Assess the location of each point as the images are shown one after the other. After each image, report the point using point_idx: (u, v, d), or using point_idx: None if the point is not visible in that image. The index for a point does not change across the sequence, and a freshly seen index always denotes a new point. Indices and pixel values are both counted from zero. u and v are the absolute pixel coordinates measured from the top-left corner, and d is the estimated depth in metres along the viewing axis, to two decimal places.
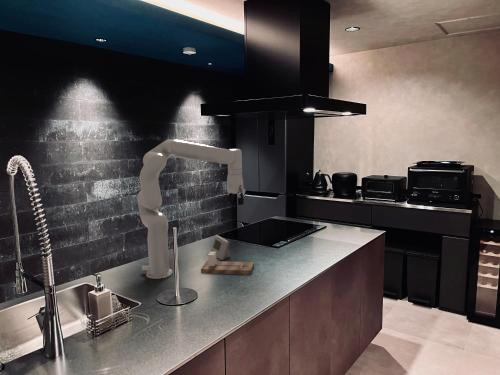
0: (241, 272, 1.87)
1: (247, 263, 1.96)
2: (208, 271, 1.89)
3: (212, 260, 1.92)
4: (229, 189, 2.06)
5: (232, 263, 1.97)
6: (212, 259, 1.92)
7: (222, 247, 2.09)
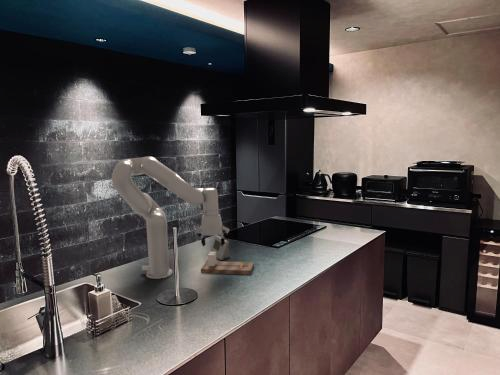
0: (241, 272, 1.87)
1: (247, 263, 1.96)
2: (208, 271, 1.89)
3: (212, 260, 1.92)
4: (207, 232, 1.90)
5: (232, 263, 1.97)
6: (212, 259, 1.92)
7: (222, 247, 2.09)
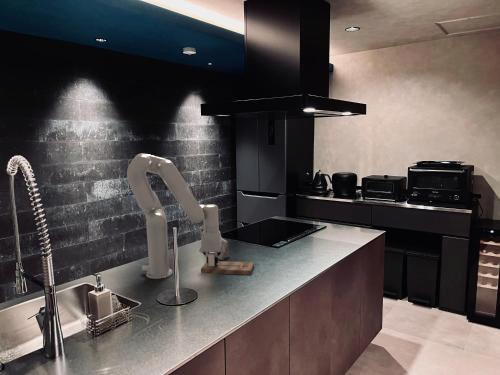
0: (241, 272, 1.87)
1: (247, 263, 1.96)
2: (208, 271, 1.89)
3: (212, 260, 1.92)
4: (207, 248, 1.91)
5: (232, 263, 1.97)
6: (212, 259, 1.92)
7: None
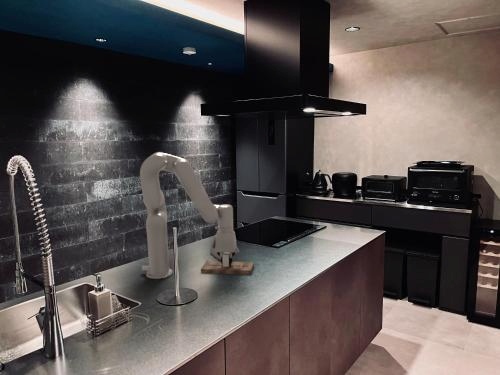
0: (241, 272, 1.87)
1: (247, 263, 1.96)
2: (208, 271, 1.89)
3: (226, 260, 1.91)
4: (221, 249, 1.90)
5: (232, 263, 1.97)
6: (226, 259, 1.91)
7: None
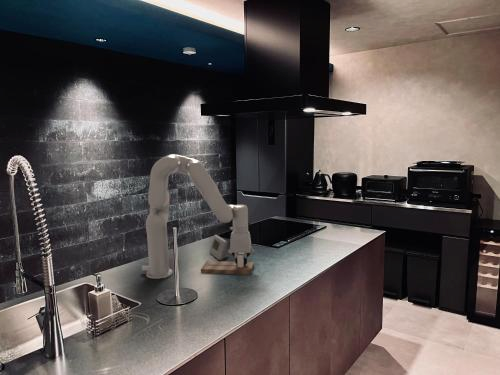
0: (241, 272, 1.87)
1: (247, 263, 1.96)
2: (208, 271, 1.89)
3: (241, 261, 1.90)
4: (236, 249, 1.89)
5: (232, 263, 1.97)
6: (241, 260, 1.90)
7: (220, 247, 2.09)
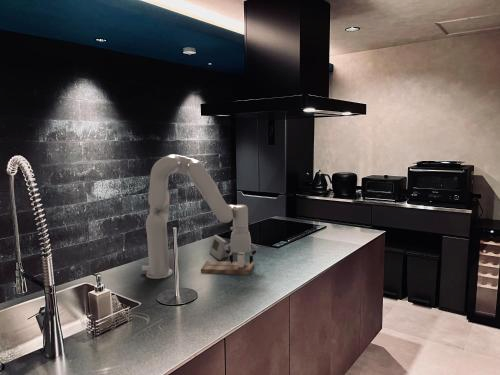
0: (241, 272, 1.87)
1: (247, 263, 1.96)
2: (208, 271, 1.89)
3: (241, 261, 1.90)
4: (236, 249, 1.89)
5: (232, 263, 1.97)
6: (241, 260, 1.90)
7: (220, 247, 2.09)
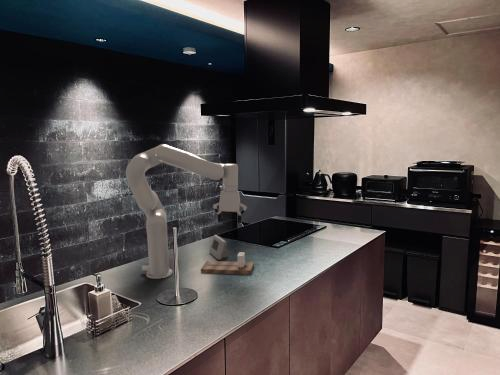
0: (241, 272, 1.87)
1: (247, 263, 1.96)
2: (208, 271, 1.89)
3: (241, 261, 1.90)
4: (225, 207, 1.89)
5: (232, 263, 1.97)
6: (241, 260, 1.90)
7: (219, 247, 2.09)
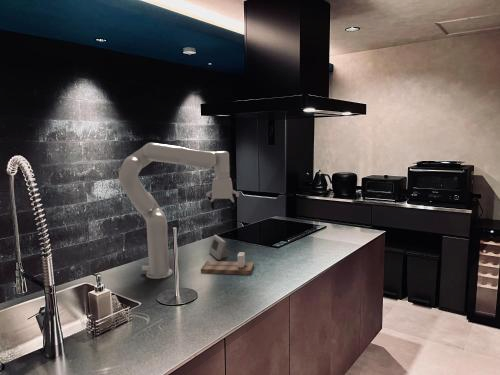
0: (241, 272, 1.87)
1: (247, 263, 1.96)
2: (208, 271, 1.89)
3: (241, 261, 1.90)
4: (218, 195, 1.90)
5: (232, 263, 1.97)
6: (241, 260, 1.90)
7: (219, 247, 2.09)
